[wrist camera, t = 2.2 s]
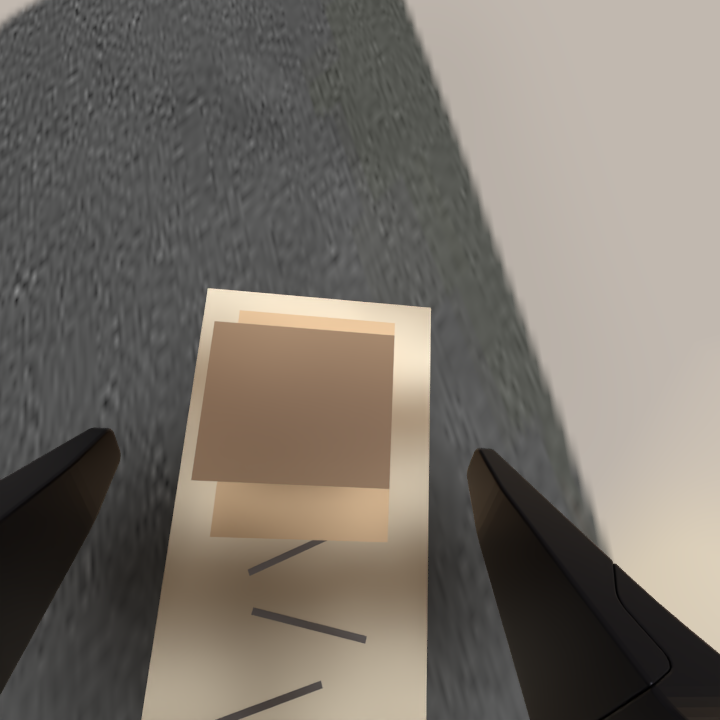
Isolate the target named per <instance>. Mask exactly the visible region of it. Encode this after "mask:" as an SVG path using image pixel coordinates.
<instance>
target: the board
mask: <svg viewBox="0 0 720 720" xmlns="http://www.w3.org/2000/svg"><path fill="white" fill-rule="evenodd" d="M240 310H244V311H256V312H268V313H280V314H292V315H304V316H316V317H328V318H340V319H352V320H364V321H375V322H387V323H395V335H394V336H395V338H394V367H393V397H392V427H391V457H390V486H389V514H388V542H359V541H327V540H295V539H262V538H230V537H210V532H211V524H212V516H213V509H214V501H215V494H216V486H217V481H195V480H191V478H192V471H193V464H194V457H195V451H196V444H197V437H198V430H199V423H200V417H201V410H202V403H203V396H204V389H205V383H206V376H207V369H208V362H209V355H210V349H211V342H212V335H213V328H214V322H215V321H220V322H232V323H238V320H239V312H240ZM430 330H431V308H426V307H415V306H403V305H392V304H380V303H369V302H358V301H346V300H335V299H324V298H312V297H301V296H290V295H278V294H267V293H255V292H244V291H233V290H221V289H210V288H208V292H207V299H206V305H205V312H204V318H203V324H202V331H201V337H200V344H199V350H198V357H197V363H196V370H195V376H194V383H193V389H192V396H191V402H190V409H189V415H188V422H187V428H186V434H185V441H184V447H183V454H182V460H181V467H180V473H179V480H178V486H177V493H176V499H175V506H174V512H173V519H172V525H171V531H170V538H169V544H168V551H167V557H166V564H165V570H164V577H163V583H162V590H161V596H160V603H159V609H158V616H157V622H156V629H155V635H154V641H153V648H152V654H151V661H150V667H149V674H148V680H147V687H146V693H145V700H144V706H143V713H142V719H141V720H426V687H427V597H428V508H429V419H430Z"/></svg>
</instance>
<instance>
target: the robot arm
mask: <svg viewBox="0 0 720 720" xmlns="http://www.w3.org/2000/svg"><path fill="white" fill-rule="evenodd" d="M120 457H121V453H120V449H119V446H118V444H117V441H116V438H115V435H114V432H113V431H112V430H111V429H109V428H91V429H88V430H86V431H85V432H83V433H81V434H80V435H78V436H76V437H74V438H73V439H71V440H69V441H67V442H66V443H64V444H62V445H61V446H59V447H57V448H55V449H54V450H52V451H50V452H48V453H47V454H45V455H43V456H41V457H40V458H38V459H36V460H35V461H33V462H31V463H29V464H28V465H26V466H24V467H22V468H21V469H19V470H17V471H15V472H14V473H12V474H10V475H9V476H7V477H5V478H3V479H2V480H0V694H1V693H2V691H3V689H4V687H5V685H6V683H7V682H8V680H9V678H10V676H11V674H12V672H13V671H14V669H15V667H16V665H17V663H18V661H19V660H20V658H21V656H22V654H23V652H24V650H25V649H26V647H27V645H28V643H29V641H30V639H31V638H32V636H33V634H34V632H35V630H36V628H37V627H38V625H39V623H40V621H41V619H42V617H43V616H44V614H45V612H46V610H47V608H48V606H49V605H50V603H51V601H52V599H53V597H54V595H55V594H56V592H57V590H58V588H59V586H60V584H61V583H62V581H63V579H64V577H65V575H66V573H67V572H68V570H69V568H70V566H71V564H72V562H73V561H74V559H75V557H76V555H77V553H78V551H79V550H80V548H81V546H82V544H83V542H84V540H85V539H86V537H87V535H88V533H89V531H90V529H91V527H92V525H93V523H94V521H95V519H96V517H97V515H98V513H99V510H100V508H101V505H102V503H103V501H104V498H105V496H106V493H107V491H108V488H109V486H110V484H111V481H112V479H113V476H114V474H115V472H116V469H117V467H118V464H119V462H120ZM467 480H468V485H469V491H470V497H471V503H472V508H473V514H474V520H475V526H476V531H477V535H478V539H479V543H480V547H481V550H482V554H483V557H484V561H485V564H486V568H487V571H488V575H489V578H490V582H491V585H492V589H493V592H494V596H495V599H496V603H497V606H498V610H499V613H500V617H501V620H502V624H503V627H504V631H505V634H506V638H507V641H508V645H509V648H510V652H511V655H512V658H513V662H514V665H515V669H516V672H517V676H518V679H519V683H520V686H521V690H522V693H523V697H524V700H525V704H526V707H527V711H528V714H529V718H530V720H720V654H719V653H718V652H716V651H715V650H714V649H713V648H712V647H711V646H709V645H708V644H707V643H706V642H705V641H703V640H702V639H701V638H700V637H699V636H697V635H696V634H695V633H694V632H692V631H691V630H690V629H689V628H688V627H686V626H685V625H684V624H683V623H682V622H680V621H679V620H678V619H677V618H676V617H675V616H674V615H672V614H671V613H670V612H669V611H668V610H667V609H665V608H664V607H663V606H662V605H661V604H659V603H658V602H657V601H656V600H655V599H654V598H653V597H652V596H651V595H649V594H648V593H647V592H646V591H645V590H644V589H643V588H642V587H641V586H639V585H638V584H637V583H636V582H635V581H634V580H633V579H632V578H631V577H630V576H628V575H627V574H626V573H625V572H624V571H623V570H622V569H621V568H620V567H619V566H618V565H617V564H613V561H612V560H611V559H610V558H609V557H608V556H607V555H606V554H605V553H604V552H603V551H602V550H600V549H599V548H598V547H597V546H596V545H595V544H594V543H593V542H592V541H591V540H590V539H589V538H588V537H587V536H585V535H584V534H583V533H582V532H581V531H580V530H579V529H578V528H577V527H576V526H575V525H574V524H573V523H572V522H570V521H569V520H568V519H567V518H566V517H565V516H564V515H563V514H562V513H561V512H560V511H559V510H558V509H557V508H555V507H554V506H553V505H552V504H551V503H550V502H549V501H548V500H547V499H546V498H545V497H544V496H543V495H542V494H540V493H539V492H538V491H537V490H536V489H535V488H534V487H533V486H532V485H531V484H530V483H529V482H528V481H526V480H525V479H524V478H523V477H522V476H521V475H520V474H519V473H518V472H517V471H516V470H515V469H514V468H513V467H511V466H510V465H509V464H508V463H507V462H506V461H505V460H504V459H503V458H502V457H501V456H500V455H499V454H498V453H496V452H495V451H494V450H492V449H484V448H478V449H476V450H475V452H474V454H473V457H472V459H471V462H470V465H469V467H468V470H467Z"/></svg>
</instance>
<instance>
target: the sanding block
mask: <svg viewBox="0 0 720 720" xmlns="http://www.w3.org/2000/svg"><path fill="white" fill-rule="evenodd" d="M394 335H395V323H387V322H375V321H364V320H352V319H340V318H328V317H316V316H304V315H292V314H280V313H268V312H256V311H244V310H240V312H239V320H238V323H232V322H220V321H215V322H214V328H213V335H212V342H211V349H210V355H209V362H208V369H207V376H206V383H205V389H204V396H203V403H202V410H201V417H200V423H199V430H198V437H197V444H196V451H195V457H194V464H193V471H192V478H191V480H195V481H217V486H216V494H215V501H214V509H213V516H212V524H211V532H210V537H230V538H262V539H295V540H327V541H359V542H388V514H389V486H390V457H391V427H392V397H393V367H394V338H395V336H394Z"/></svg>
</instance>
